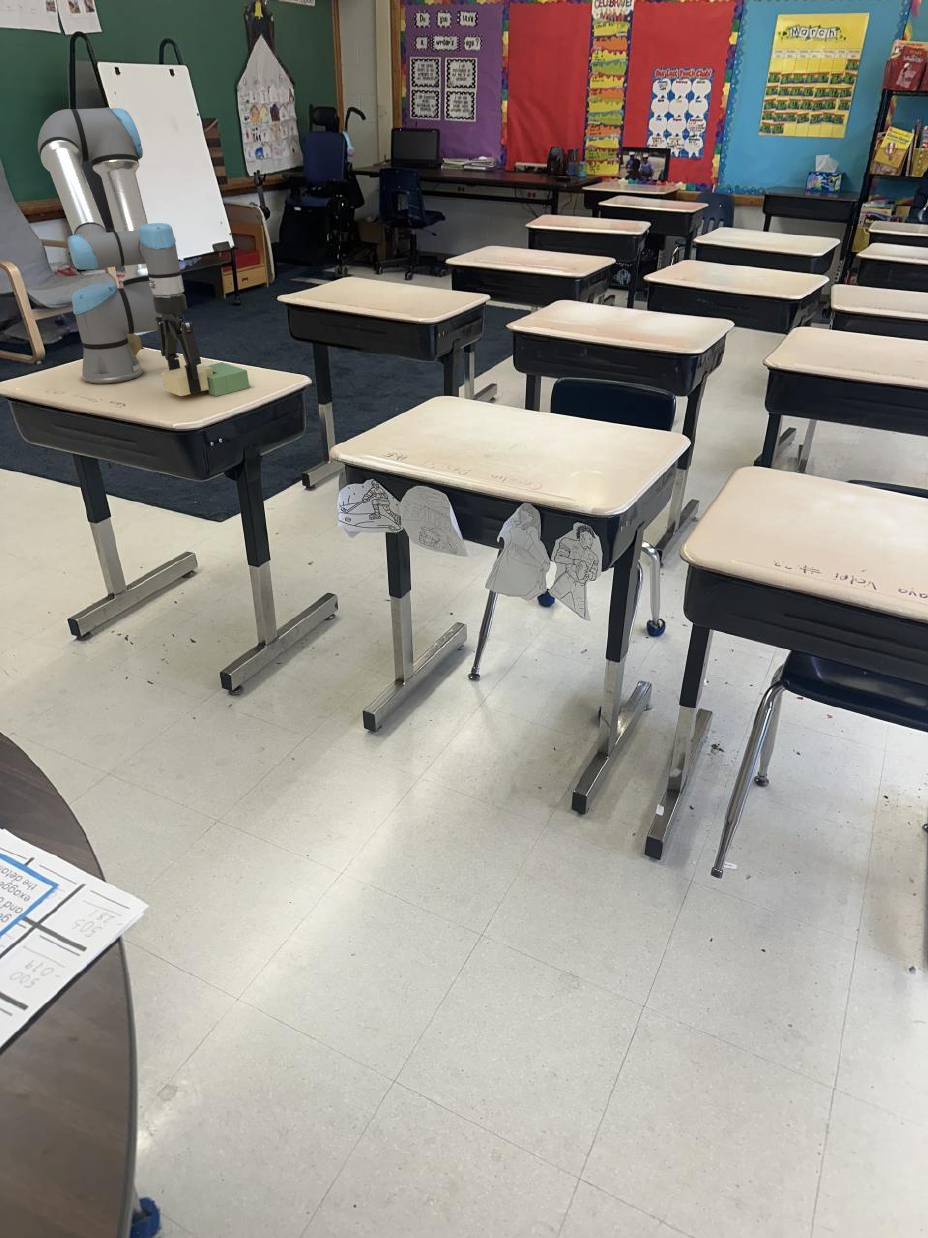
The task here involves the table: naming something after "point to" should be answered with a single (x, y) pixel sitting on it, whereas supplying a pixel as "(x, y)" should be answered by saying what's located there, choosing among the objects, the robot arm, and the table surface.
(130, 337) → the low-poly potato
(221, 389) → the green u-shaped block
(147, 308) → the robot arm
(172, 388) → the cream pad
